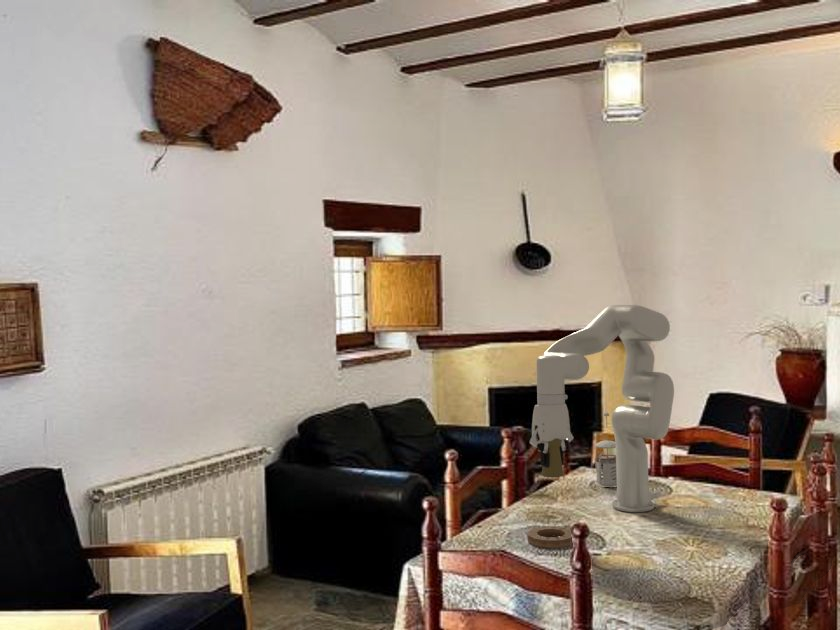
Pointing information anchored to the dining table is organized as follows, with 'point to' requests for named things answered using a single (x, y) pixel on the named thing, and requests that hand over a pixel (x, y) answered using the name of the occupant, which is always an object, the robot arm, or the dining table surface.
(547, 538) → the bead ring
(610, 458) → the french press
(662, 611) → the dining table surface
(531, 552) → the dining table surface
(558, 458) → the cork
